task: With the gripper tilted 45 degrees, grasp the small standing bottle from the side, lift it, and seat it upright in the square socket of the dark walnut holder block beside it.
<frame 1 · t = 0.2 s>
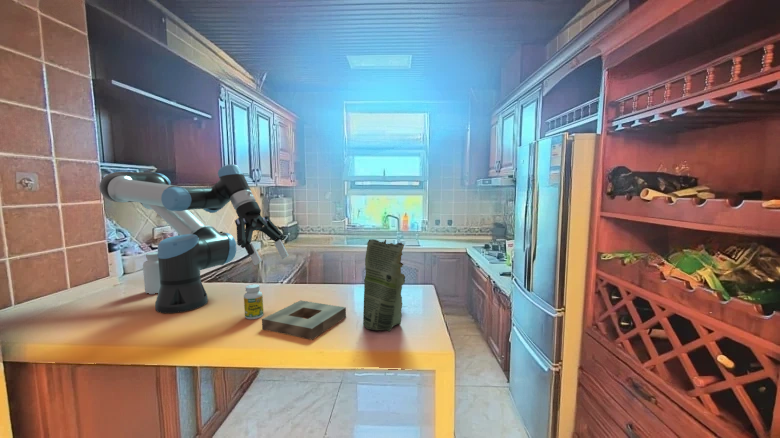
hand: (272, 260, 116), 15 cm above the counter, tool tilted 30°, fingers open, 13 cm apart
pouch: (384, 326, 99), on the counter
holder: (305, 322, 101), on the counter
pill bottle: (157, 291, 133), on the counter
supplement bottle: (254, 317, 107), on the counter
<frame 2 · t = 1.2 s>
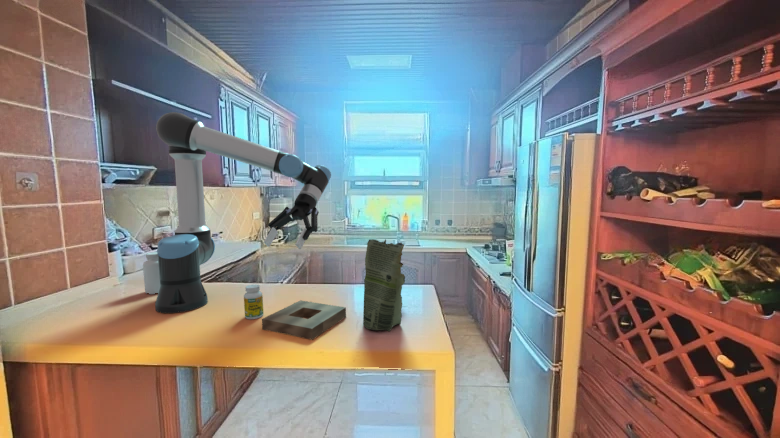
hand: (281, 245, 117), 20 cm above the counter, tool tilted 45°, fingers open, 13 cm apart
nothing on the counter moved.
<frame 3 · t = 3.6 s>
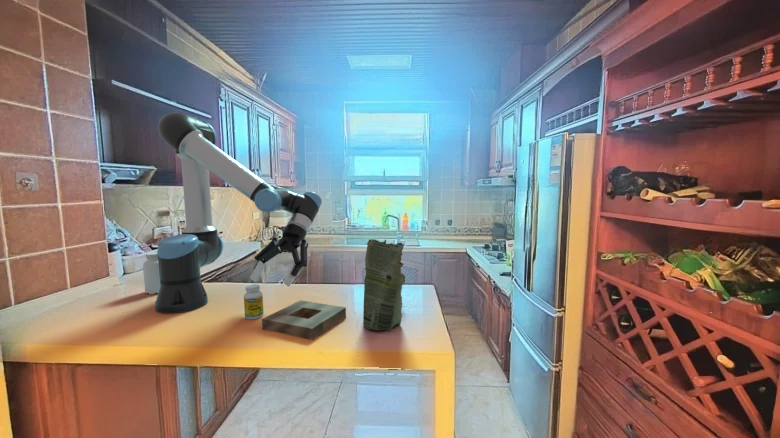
hand: (269, 282, 110), 10 cm above the counter, tool tilted 45°, fingers open, 13 cm apart
nothing on the counter moved.
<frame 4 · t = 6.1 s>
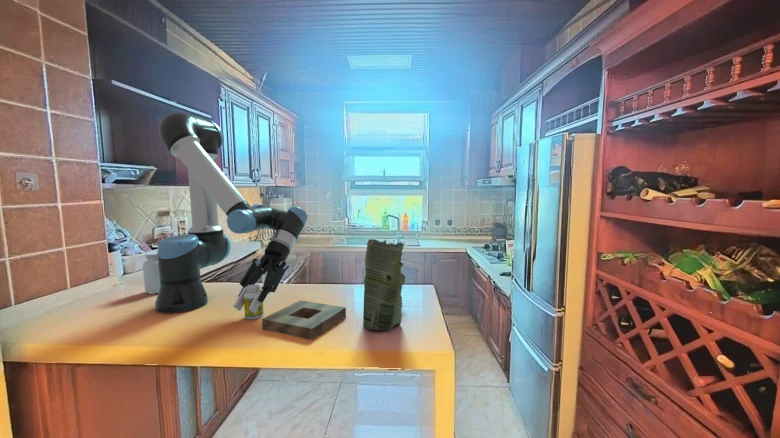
hand: (244, 309, 103), 3 cm above the counter, tool tilted 45°, fingers closed on supplement bottle, 5 cm apart
supplement bottle: (254, 316, 107), on the counter, touching gripper
everything else where it was.
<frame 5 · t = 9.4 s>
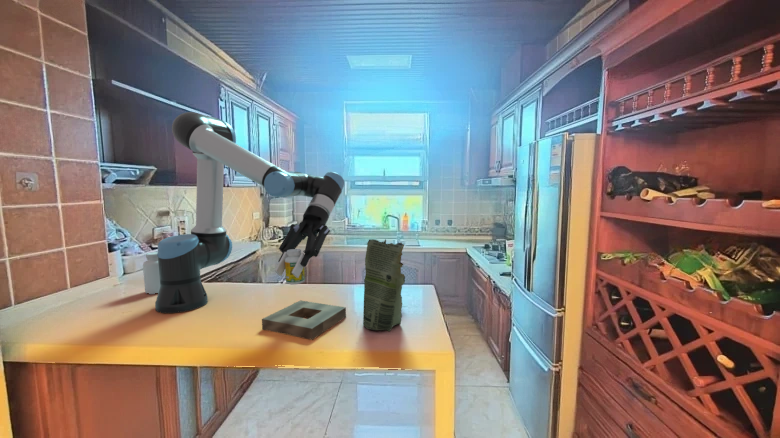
hand: (286, 274, 98), 15 cm above the counter, tool tilted 45°, fingers closed on supplement bottle, 5 cm apart
supplement bottle: (295, 282, 101), point 12 cm above the counter, touching gripper
everything else where it was.
when the fingers open (4 cm above the counter, at t = 12.7 s): supplement bottle stays where it is, resting in holder.
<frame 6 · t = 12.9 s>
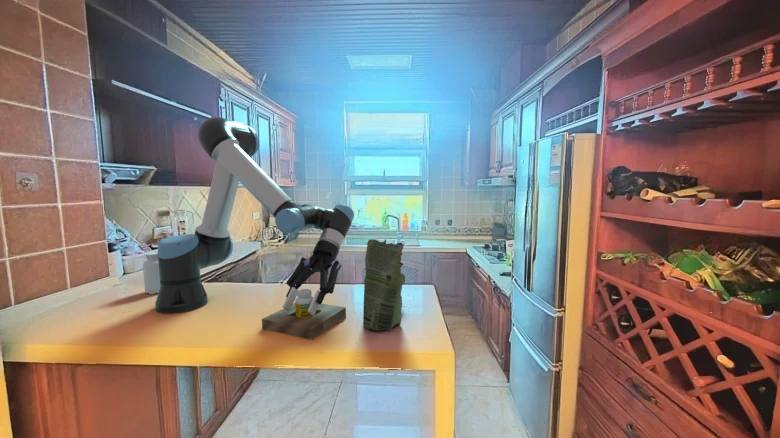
hand: (298, 311, 98), 5 cm above the counter, tool tilted 45°, fingers open, 8 cm apart
supplement bottle: (305, 323, 101), resting in holder
everything else where it was.
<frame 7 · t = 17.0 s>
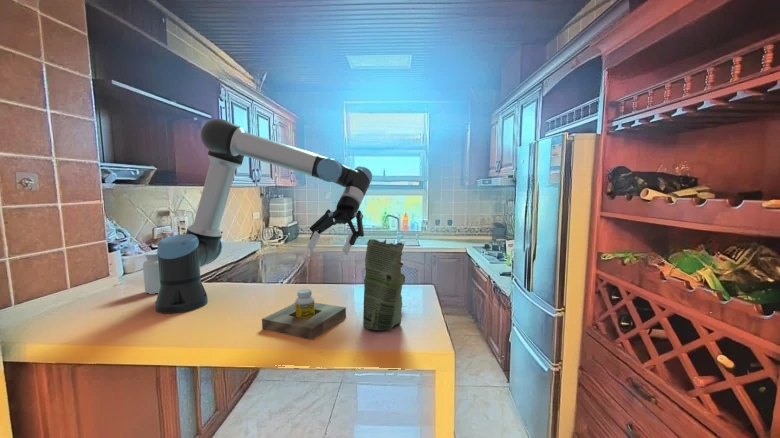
hand: (326, 250, 111), 19 cm above the counter, tool tilted 45°, fingers open, 13 cm apart
nothing on the counter moved.
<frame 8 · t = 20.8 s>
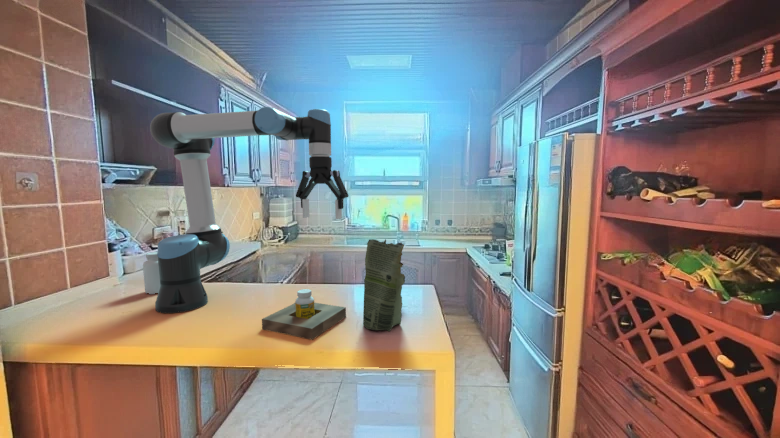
hand: (322, 218, 121), 29 cm above the counter, tool pointing down, fingers open, 13 cm apart
nothing on the counter moved.
at the end: supplement bottle 0.1 cm off-centre on the holder, point 0.0 cm above the holder's base; supplement bottle tilted 0°; the gripper is holding nothing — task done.
